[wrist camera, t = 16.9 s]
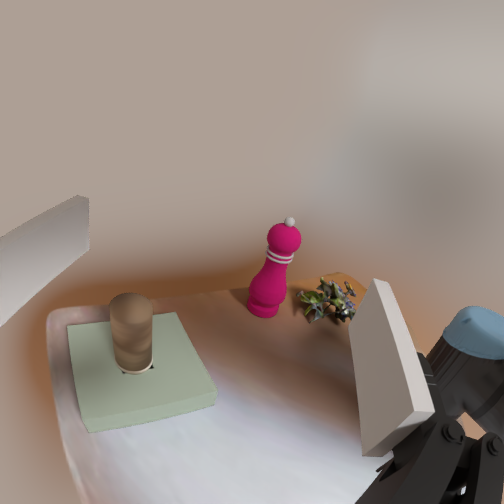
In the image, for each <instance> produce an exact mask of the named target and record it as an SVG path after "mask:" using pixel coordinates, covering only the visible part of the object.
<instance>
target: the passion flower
mask: <svg viewBox="0 0 504 504" xmlns="http://www.w3.org/2000/svg"><path fill="white" fill-rule="evenodd" d="M332 281H333V280H332ZM320 282H321V285H319V286H318V287H317V289H318V290H321V291H323V292H324V294H322V293H320V294H318V293H317V292H314V291H309V292H307V293H305V294H303V293H304V292H303V291H302V290H301V292H298V293H297V294H296V296H297V297H298V296H299V295H300V294H302V296H301V302H305V303H309V304H312V305H310V306H309V307H308V308H307V309H306V311H305V313H304V316H306V315H307V313H308V312H309V311H310V310H311V309H316V313H315V316H314V319H313V320H312V321H310V322H309V323H311V322H313V321H315V320H317V319H319V318H324V317H325V316H326V315H330V314H334V313H335V316H336V318H339V319H340V320H341V321H342V322H345V318H347V317H349V318H350V320H352V318H353V317H354V315H355V313H356V310H355V309H354V308H353V307H352V306H353V305H355V304H354V303H352V302H351V301H350V300H348V299H349V298H347V297H346V296H347V295H348V294H349V293H350V295H351V296H354V297H356V294H355V292H354V290H353V288H352V287H351V286H350V284H348V283H347V282H346V281H345V285H346V288H347V289H348V291H347V293H343V291H342V289H341V288H340V286H339V287H338V285H337V283H334V282H332V283H331V281H330V282H329V283H330V285H329V284H327V283H326V282H325V281H324V280H323V277H321V279H320ZM322 296H323V297H322ZM329 296H330V299H328V297H329ZM324 302H329V303H330V305H334V306H335V307H336V310H335V312H332V313H328V314H324V311H325V310H326V309H327V308H328V307H329V306H330V305H329V306H328V307H327V308H325V309H323V308H322V305H323V303H324ZM317 306H319V307H320V308H321V312H320V311H319V310H318V309H317Z"/></svg>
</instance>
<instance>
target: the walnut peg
mask: <svg viewBox="0 0 504 504" xmlns="http://www.w3.org/2000/svg"><path fill="white" fill-rule="evenodd" d="M109 313H110V323H111V332H112V340H113V348H114V360H115V364H116V366H117V367H118V368H119V369H120V370H121V371H123V372H125V373H127V374H132V375H137V374H142V373H144V372H146V371H148V370H149V369H150V367H151V366H152V363H153V355H152V321H153V306H152V303H151V302H150V300H149V299H148V298H146V297H145V296H143V295H140V294H137V293H124V294H120V295H118V296H116V297H114V298H113V299H112V300H111V302H110V304H109Z"/></svg>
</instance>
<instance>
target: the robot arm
mask: <svg viewBox="0 0 504 504" xmlns="http://www.w3.org/2000/svg"><path fill="white" fill-rule="evenodd" d="M89 249H90V247H89V198H86V197H82V196H78V195H77V196H75V197H73V198H71V199H69V200H67V201H65V202H63V203H61V204H59V205H57V206H55V207H53V208H51V209H49V210H47V211H46V212H44V213H42V214H40V215H38V216H36V217H35V218H33V219H31V220H29V221H28V222H26V223H24V224H22V225H21V226H19V227H17V228H15V229H14V230H12V231H10V232H9V233H7V234H6V235H4V236H2V237H1V238H0V327H1V326H2V325H3V324H5V322H6V321H8V320H9V319H10V318H11V317H12V316H13V315H14V314H15V313H16V312H17V311H18V310H19V309H20V308H21V307H22V306H23V305H25V304H26V303H27V302H28V301H29V300H30V299H31V298H32V297H33V296H34V295H36V294H37V292H39V291H40V290H41V289H42V288H43V287H45V286H46V285H47V284H48V283H49V282H50V281H52V280H53V279H54V278H55V277H56V276H57V275H59V274H60V273H61V272H62V271H63V270H65V269H66V268H67V267H68V266H70V265H71V264H72V263H73V262H74V261H76V260H77V259H78V258H79V257H81V256H82V255H83V254H85V253H86V252H87V251H88V250H89ZM348 331H349V337H350V343H351V350H352V357H353V364H354V372H355V380H356V388H357V397H358V407H359V417H360V429H361V442H362V456H370V457H383V456H384V455H385V454H387V453H388V452H389V451H390V450H393V453H394V457H393V458H392V459H391V460H389V461H388V462H387V463H385V464H384V465H382V466H381V467H379V468H378V469H377V470H376V472H379V471H381V470H382V469H383V470H382V471H381V472H380V474H379V475H378V476H377V478H376V479H375V480H374V481H373V483H372V484H371V485H370V486H369V487H368V489H367V490H366V491H365V492H364V493H363V495H362V496H361V497H360V498H359V499H358V500H357V502H356V503H355V504H501V500H502V493H503V483H504V317H503V316H501V315H499V314H498V313H496V312H494V311H492V310H489V309H486V308H483V307H479V306H468V307H465V308H463V309H462V310H460V311H459V312H458V313H457V315H456V316H455V317H454V319H453V320H452V322H451V323H450V324H449V325H448V326H447V327H446V328H445V329H444V331H443V334H442V336H441V337H440V339H439V340H438V342H437V343H436V344H435V346H434V347H433V349H432V350H431V351H430V353H429V354H428V355H427V356H426V358H425V357H424V356H423V354H422V353H418V352H416V350H415V347H414V345H413V342H412V339H411V337H410V334H409V331H408V329H407V326H406V324H405V321H404V319H403V316H402V314H401V311H400V309H399V306H398V304H397V302H396V299H395V297H394V295H393V292H392V290H391V288H390V285H389V283H388V282H385V281H381V280H378V279H374V278H373V280H372V282H371V284H370V286H369V288H368V290H367V292H366V294H365V296H364V298H363V300H362V301H361V303H360V305H359V307H358V309H357V311H356V313H355V315H354V317H353V318H352V320H351V322H350V324H349V326H348ZM464 412H466V413H467V414H468V415H469V416H470V417H472V419H473V420H474V421H475V422H476V423H477V424H478V425H479V426H480V427H482V429H483V430H484V431H485V432H486V434H485V435H483V436H482V437H481V438H480V439H479V440H476V439H472V438H470V437H467V436H465V432H464V430H463V428H462V426H461V425H460V424H459V423H458V422H457V421H456V420H457V419H458V418H459V417H460V416H461V415H462V414H463V413H464ZM465 486H466V490H465V493H464V494H462V495H461V489H462V488H463V487H465Z"/></svg>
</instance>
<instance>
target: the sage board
mask: <svg viewBox="0 0 504 504" xmlns="http://www.w3.org/2000/svg"><path fill="white" fill-rule="evenodd" d="M67 329H68V340H69V348H70V356H71V363H72V370H73V376H74V382H75V388H76V393H77V398H78V403H79V408H80V412H81V416H82V420H83V422H84V424H85V426H86V428H87V430H88V432H89V433H93V432H100V431H106V430H112V429H118V428H123V427H129V426H134V425H139V424H143V423H148V422H153V421H157V420H161V419H165V418H169V417H173V416H177V415H181V414H185V413H189V412H192V411H196V410H199V409H203V408H206V407H209V406H213V405H214V404H215V400H216V397H217V393H218V389H217V387H216V386H215V384H214V382H213V380H212V379H211V377H210V375H209V373H208V372H207V370H206V368H205V366H204V365H203V363H202V361H201V359H200V358H199V356H198V354H197V352H196V350H195V348H194V347H193V345H192V343H191V341H190V339H189V337H188V335H187V333H186V332H185V330H184V328H183V326H182V324H181V322H180V320H179V318H178V316H177V314H176V312H171V313H165V314H158V315H153V321H152V355H153V363H152V366H151V367H150V369H149V370H148V371H146V372H144V373H142V374H137V375H132V374H127V373H125V374H123V373H122V371H121V370H120V369H119V368H118V367H117V366H116V364H115V360H114V348H113V340H112V332H111V323H110V321H106V322H98V323H89V324H80V325H71V326H67Z"/></svg>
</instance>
